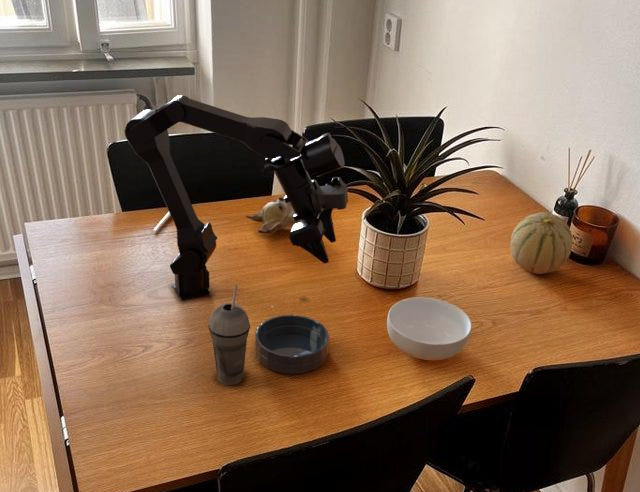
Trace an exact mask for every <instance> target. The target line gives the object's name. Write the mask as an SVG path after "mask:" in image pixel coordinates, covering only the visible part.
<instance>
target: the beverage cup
mask: <svg viewBox="0 0 640 492" xmlns="http://www.w3.org/2000/svg"><path fill="white" fill-rule="evenodd" d="M237 291H238V284H237V283H234V285H233V294H232V300H231V303H223V304H221V305H219V306H217V307H216V308H215V309H214V310H213V312H212V313H211V315H210V318H209V321H208V322H209V323H208V330H209V334H210V338H211V340H212V347H213V354H214V362H215V371H216V375H217V381H218V382H219V383H221V384H222V385H225V386H234V385H237V384H239V383H240V382H242V380H243V375H244V371H245V361H246V352H247V342H248V337H249V333H250V329H251V323H250V319H249V316H248V314H247V312H246V311H245V310H244V308H243V307H241V306H240V305H238V304H236V301H237V300H236V299H237V293H238V292H237Z"/></svg>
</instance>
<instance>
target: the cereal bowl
mask: <svg viewBox="0 0 640 492" xmlns="http://www.w3.org/2000/svg"><path fill="white" fill-rule="evenodd" d="M472 327H473V326H472V321H471V318H470V317H469V316H468V314H467V313H466V312H465V311H464V310H462V309H461V308H460V307H458V306H456V305H455V304H453V303H451V302H448V301H445V300H442V299H438V298H434V297H427V296H426V297H425V296H415V297H407V298H404V299H401V300H399V301H397V302H396V303H394V304H393V305H392V306H391V307H390V309H389V311H388V312H387V319H386V330H387V333H388V337H389V339H390V340H391V342H392V343H393V345H395V347H396V348H397V349H398V350H400V351H401V352H402V353H404V354H406V355H408V356H410V357H413V358H416V359H418V360H425V361H443V360H447V359H450V358H452V357H454V356H456V355H458V354H459V353H461V352H462V350H464V348H465V347H466V346H467V344H468V342H469V340H470V336H471V334H472V330H473V329H472Z"/></svg>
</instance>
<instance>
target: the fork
mask: <svg viewBox="0 0 640 492" xmlns="http://www.w3.org/2000/svg"><path fill="white" fill-rule="evenodd" d="M169 218H171V215H170V213H169V211H168V212H167V213H165V215H164V216H163V217H162V219H161V220H160V221H159V222H158V223H157V224H156V226H155V227H154V228H153V230H152V232H154V233H157V232H158V230H159V229H160V228H161V227H162V226H163V225H164V224H165V222H166V221H167V220H168V219H169Z"/></svg>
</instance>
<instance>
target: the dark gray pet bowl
mask: <svg viewBox="0 0 640 492" xmlns="http://www.w3.org/2000/svg"><path fill="white" fill-rule="evenodd" d="M254 341H255V342H254V350H255V357H256V358H257V360H258V362H259V363H260V364H261V365H263V366H264V367H265V368H267V369H269V370H272V371H274V372H277V373H281V374H287V375H298V374H305V373H308V372H311V371H314V370H316V369H318V368H320V367H321V366H322V365H323V364H324V363H325V362H326V361H327V358H328V355H329V347H330V346H329V345H330V335H329V331H328V329H327V328H326V327H325V326H324V324H322V323H320V322H319V321H317V320H316V319H313V318H311V317H308V316H304V315H298V314H282V315H277V316H273V317H271V318H268V319H266V320H264V321H262V323H260V324H259V326H257V329H256V331H255V335H254Z"/></svg>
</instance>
